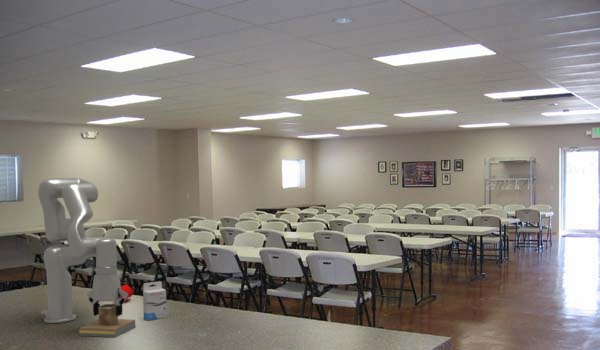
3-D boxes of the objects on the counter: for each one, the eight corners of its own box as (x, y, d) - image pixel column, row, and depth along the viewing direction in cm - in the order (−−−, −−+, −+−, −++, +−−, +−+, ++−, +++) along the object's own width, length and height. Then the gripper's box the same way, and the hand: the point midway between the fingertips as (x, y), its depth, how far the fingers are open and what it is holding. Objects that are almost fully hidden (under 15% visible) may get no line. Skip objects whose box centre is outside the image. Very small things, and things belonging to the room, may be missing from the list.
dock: (79, 336, 211) (79, 328, 211) (101, 326, 225) (101, 318, 225) (114, 337, 207) (114, 329, 207) (135, 327, 221) (135, 319, 221)
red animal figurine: (107, 292, 267) (116, 289, 275) (114, 307, 266) (123, 303, 274) (120, 286, 265) (129, 282, 273) (127, 301, 265) (136, 296, 272)
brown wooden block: (98, 325, 214) (98, 306, 214) (106, 321, 219) (106, 303, 219) (110, 325, 213) (110, 307, 213) (118, 322, 218) (117, 304, 218)
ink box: (147, 320, 231) (146, 285, 231) (143, 318, 236) (142, 283, 236) (167, 317, 236) (166, 282, 236) (163, 315, 240) (162, 280, 240)
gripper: (81, 272, 215) (82, 316, 215) (121, 272, 211) (122, 318, 211) (92, 268, 222) (94, 312, 222) (131, 269, 218) (133, 313, 218)
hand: (107, 315), depth 216 cm, fingers open, 9 cm apart
